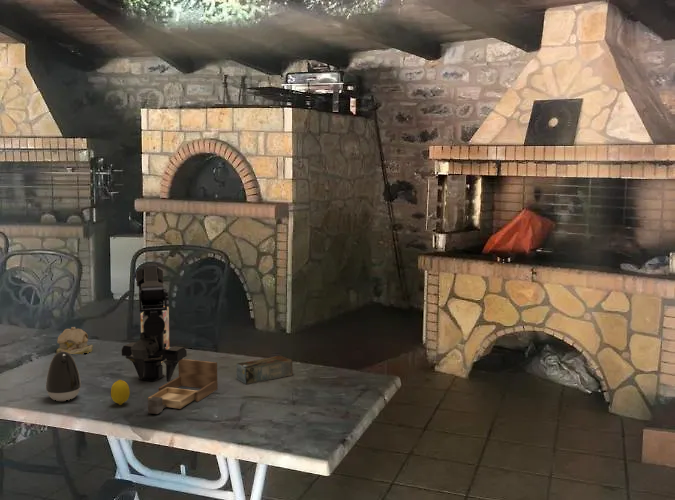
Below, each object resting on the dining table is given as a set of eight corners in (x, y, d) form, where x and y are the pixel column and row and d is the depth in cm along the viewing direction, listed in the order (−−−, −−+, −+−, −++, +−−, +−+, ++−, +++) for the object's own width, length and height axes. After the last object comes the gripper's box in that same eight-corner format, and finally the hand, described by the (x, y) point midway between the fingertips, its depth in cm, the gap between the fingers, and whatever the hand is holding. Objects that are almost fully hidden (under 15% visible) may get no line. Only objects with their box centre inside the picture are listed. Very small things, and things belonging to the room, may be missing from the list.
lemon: (113, 402, 209) (112, 377, 208) (131, 401, 209) (131, 376, 208) (109, 408, 203) (108, 382, 202) (127, 407, 204) (127, 382, 203)
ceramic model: (50, 354, 261) (49, 329, 260) (64, 347, 272) (63, 323, 271) (85, 355, 260) (84, 330, 259) (97, 348, 271) (97, 324, 270)
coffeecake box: (159, 365, 247) (158, 313, 245) (140, 365, 247) (139, 313, 245) (170, 354, 262) (169, 305, 260) (152, 354, 262) (151, 305, 260)
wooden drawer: (136, 411, 200) (135, 398, 199) (166, 393, 216) (166, 381, 215) (169, 415, 196) (169, 402, 196) (198, 397, 212) (197, 385, 212)
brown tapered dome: (47, 406, 204) (45, 357, 202) (45, 396, 213) (43, 349, 212) (83, 401, 209) (81, 353, 207) (79, 391, 218) (77, 345, 216)
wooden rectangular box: (235, 379, 233) (235, 361, 232) (283, 370, 243) (283, 353, 243) (245, 385, 227) (245, 366, 226) (293, 376, 237) (293, 358, 236)
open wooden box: (158, 397, 214) (157, 369, 212) (180, 384, 226) (179, 358, 225) (197, 401, 209) (197, 373, 208) (217, 389, 222) (217, 362, 221)
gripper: (108, 331, 191) (110, 384, 193) (166, 336, 186) (167, 391, 188) (132, 323, 202) (133, 373, 204) (187, 328, 196) (188, 380, 198)
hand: (154, 379), depth 198 cm, fingers open, 9 cm apart
